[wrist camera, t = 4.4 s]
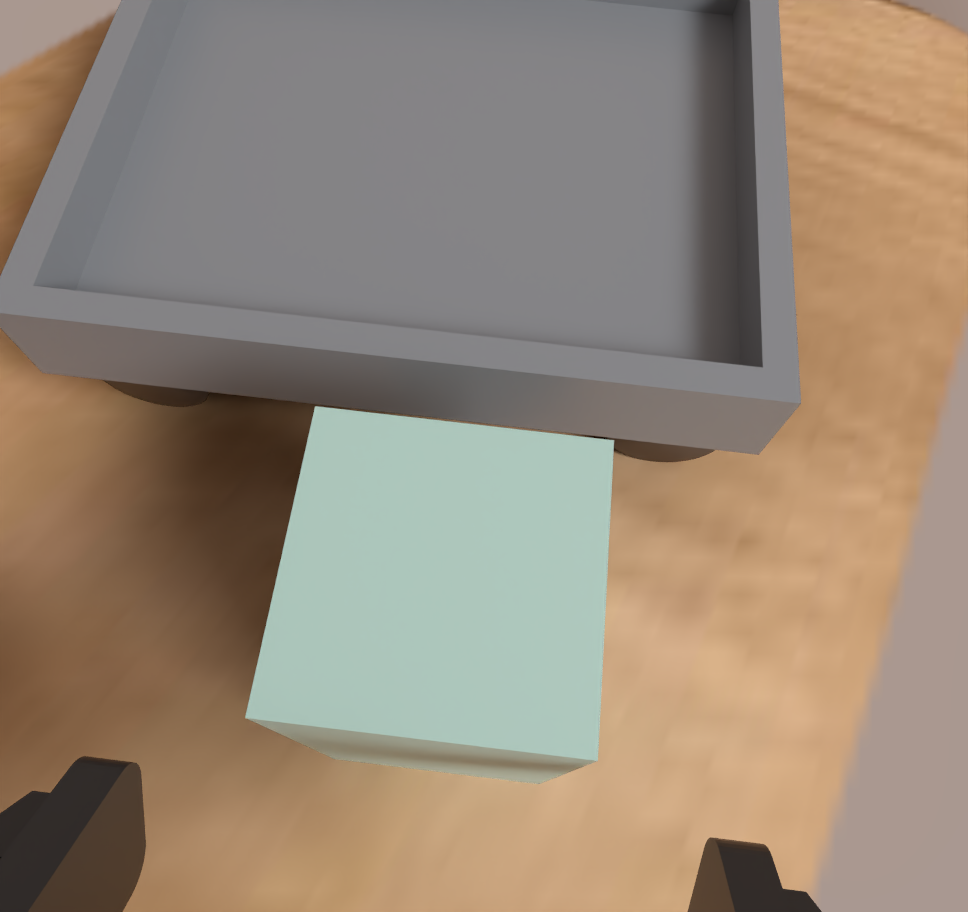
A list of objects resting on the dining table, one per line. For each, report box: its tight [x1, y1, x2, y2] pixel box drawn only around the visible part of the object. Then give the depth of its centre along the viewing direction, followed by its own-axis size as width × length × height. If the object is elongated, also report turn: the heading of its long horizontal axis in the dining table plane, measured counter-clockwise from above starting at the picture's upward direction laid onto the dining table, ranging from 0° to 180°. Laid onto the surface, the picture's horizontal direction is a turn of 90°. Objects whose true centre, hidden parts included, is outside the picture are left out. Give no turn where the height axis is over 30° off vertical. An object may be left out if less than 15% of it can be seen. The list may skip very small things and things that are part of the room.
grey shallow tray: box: [0, 0, 801, 462], centre depth 23 cm, size 18×15×6 cm
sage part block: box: [245, 406, 614, 784], centre depth 16 cm, size 5×5×9 cm
